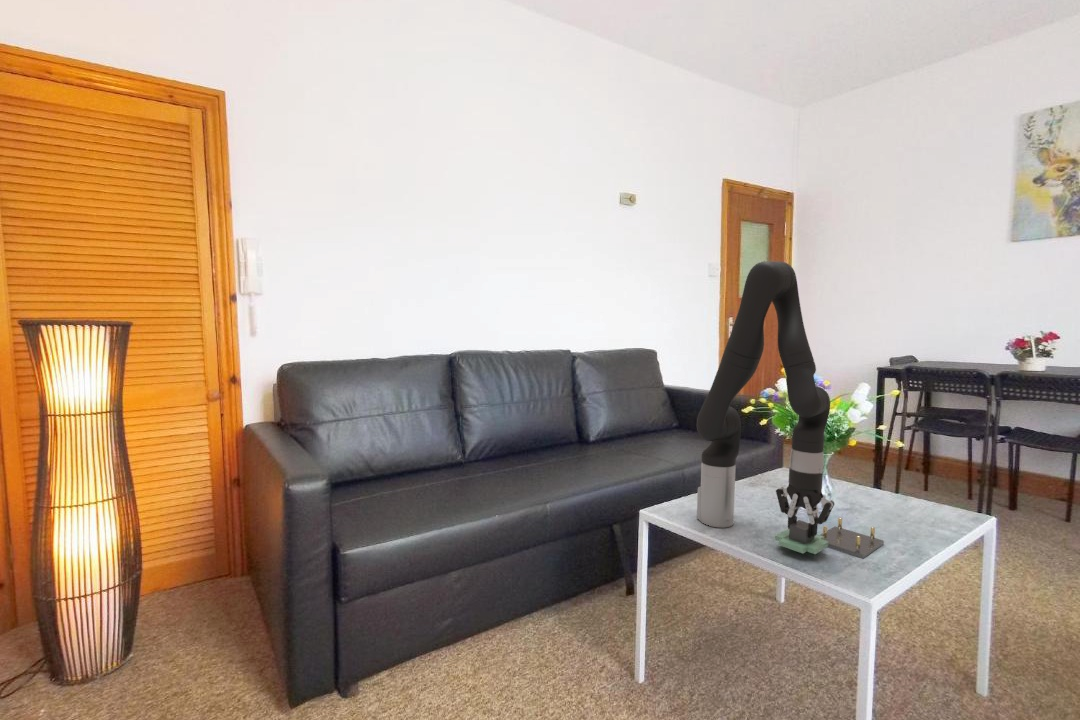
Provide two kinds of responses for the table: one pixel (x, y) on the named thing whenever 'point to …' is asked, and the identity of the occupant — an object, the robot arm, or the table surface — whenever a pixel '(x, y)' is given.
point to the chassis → (851, 541)
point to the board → (801, 546)
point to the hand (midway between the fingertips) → (801, 533)
